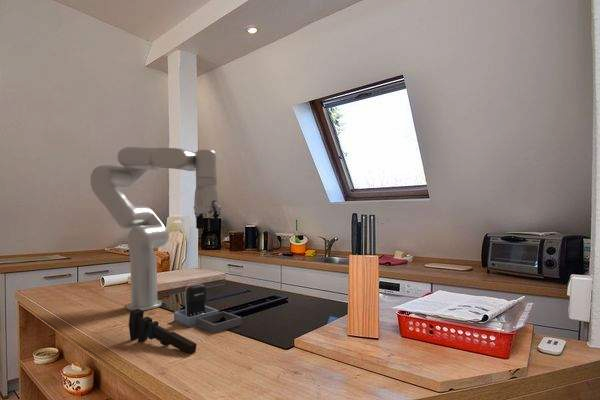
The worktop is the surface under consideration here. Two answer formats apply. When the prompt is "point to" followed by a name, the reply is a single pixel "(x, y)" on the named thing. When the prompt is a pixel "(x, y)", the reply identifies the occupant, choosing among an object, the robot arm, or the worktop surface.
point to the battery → (195, 299)
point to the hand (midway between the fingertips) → (207, 228)
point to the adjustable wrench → (156, 332)
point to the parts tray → (192, 321)
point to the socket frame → (230, 323)
